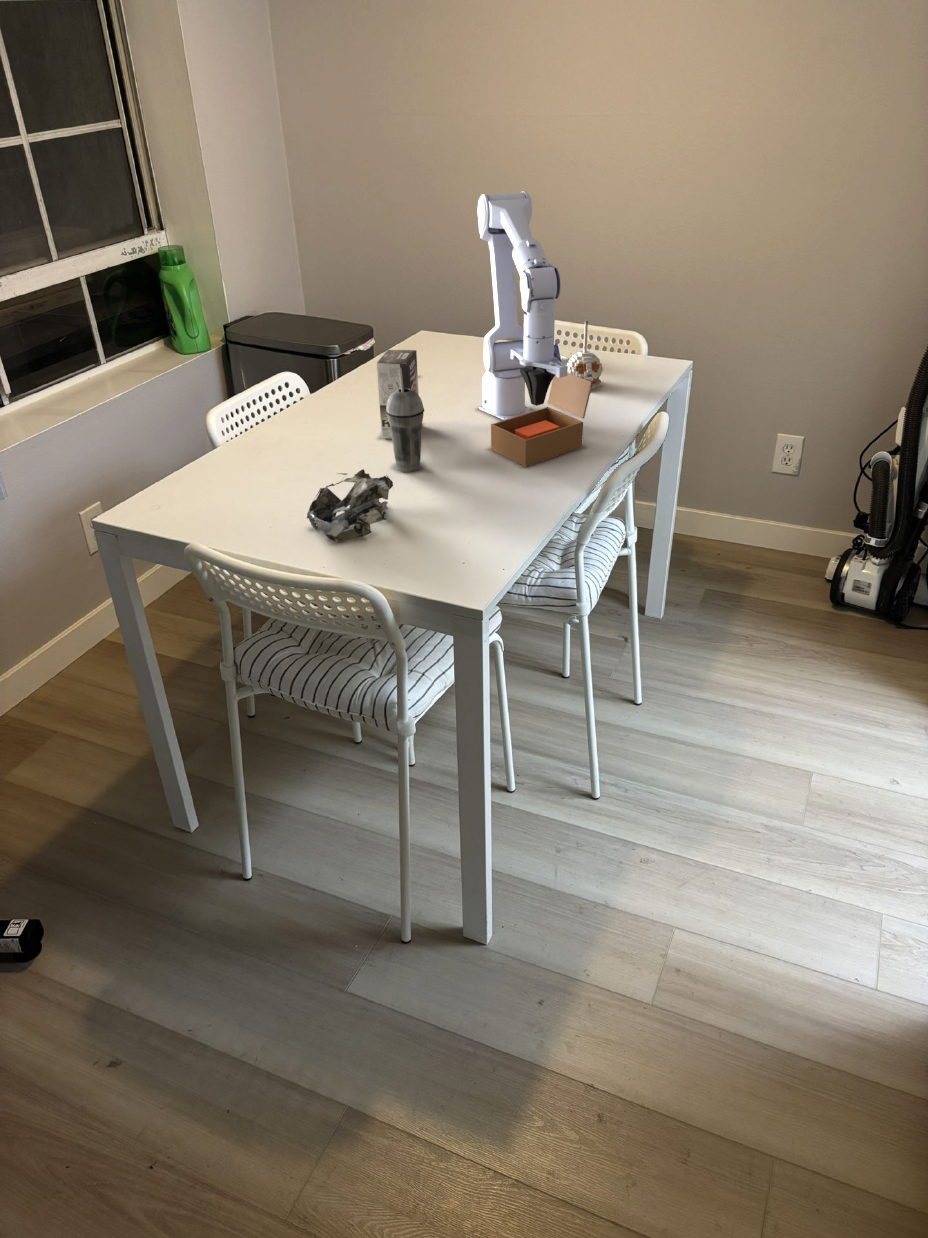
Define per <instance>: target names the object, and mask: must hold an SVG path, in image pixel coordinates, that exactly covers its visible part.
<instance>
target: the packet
mask: <svg viewBox="0 0 928 1238" xmlns="http://www.w3.org/2000/svg"><path fill="white" fill-rule="evenodd" d="M558 429H559V426H557V425H555V424H553V423H551V422H548V421H546V420H544V421H541V422H538V423H535V424H531V425H528V426H525V427H522V428H519V429H516V430H515V435H517V436H519V437H521V438H523V439H526V440H527V439H530V438H533V437H536V436H539V435H542V434H545V433H548V432H551V431H554V430H558Z"/></svg>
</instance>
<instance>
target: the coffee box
mask: <svg viewBox="0 0 928 1238" xmlns="http://www.w3.org/2000/svg"><path fill="white" fill-rule="evenodd" d="M417 351H418V350H417V349H416V350H415V349H387V350H386V351H385V352H384V353H383V355H382V356H381V357H380V358H379V359H378V360H377V361H376V373H377V390H378V403H379V417H380V430H381V432H380V433H381V438H382V439H390V440H392V436H391V429H390V423H389V421H388V417H387V414H386V409H387V402H388V399H389V397H390V396H391V395H392V393H393V392H395V391H397V390H399V389H401V385H400V376H399V368H401V370H402V379H403V388H407V389H411V390H413V391H414V392H416V393H417V394H418V395H419V393H420V392H419V376H418V375H419V373H418V356H417ZM419 396H420V395H419Z"/></svg>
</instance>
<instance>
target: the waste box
mask: <svg viewBox="0 0 928 1238" xmlns="http://www.w3.org/2000/svg"><path fill="white" fill-rule="evenodd" d="M544 420H546V421H548V422H551V423H553V424H555V425H557V426H559V429H558V430H554V431H551V432H548V433H545V434H542V435H539V436H536V437H533V438H530V439H527V440H526V439H523V438H521V437H519V436H517V435H515V430H516V429H519V428H522V427H525V426H528V425H531V424H535V423H538V422H541V421H544ZM583 436H584V421H582V420H579V419H577V418H575V417H573V416H570V415H568V414H566V413H564V412H561V411H559V410H556V409H553V408H551V407H549V406H546V407H542V408H540V409H537V410H533V412H529V413H526V414H523V415H520V416H516V417H513V418H510V419H507V420H500V421H497V422H494V423H491V424H490V450H491V451H493V452H495V453H497V454H499V455H501V456H504V457H505V458H507V459H508V460H511V461H513V462H515V463H517V464H519V465H521V466H523V467H525V468H526V467H529V466H532V465H535V464H539V463H540V462H544V461H546V460H550V459H553V458H555V457H558V456H562V455H565V454H567V453H570V452H573V451H576V450H578V449H582V448H583Z"/></svg>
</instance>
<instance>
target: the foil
mask: <svg viewBox="0 0 928 1238" xmlns="http://www.w3.org/2000/svg"><path fill="white" fill-rule="evenodd" d="M335 474H336V475H342V476H343V475H344V476H347V475H348V473H343V472H341V473H339V472H337V473H335ZM343 482H344V483H354V484H353V486H352V487H351V489H350V490H349V492H347V494H346V495H345V497H343V499H341V498H339V497H338V496H337V495H336V494H335V493H334V492H333V491H331V489H329V488H330V487H335V486H336V485H339V484H341V483H343ZM392 488H393V490H394V482H393V481H392V480H391V478H390V477H389V476H388V475H387V474H386V475H384V476H380V477H371V476H370V473H367V472H366V471H365V469H364V468H362V469H361V470H359V471H358V472H356V473H355V474H354V475H353V477H346V478H345V479H344V478H342V479H341V480H340V481H338V482H336V483H330V484H329V485H326V486H325V487H320V488H319V490H318V492H317V494H316V495H315V496H314V498H313V501H312V502H311V504H310V505H309V508H308V510H307V512H306V519H308V521H309V522H310V525H311V527H312V528H313V529H314V530H317V529H320V530H321V531H322V532H323V534H324V535H325V536H326V538H327V539H329V540H331V541H333V542H334V543H337V544H339V543H343V542H346V541H350V540H354V539H358V538H363V537H365V536H368V535H369V534H372V530H371V525H373V524H375V523H379V522H382V521H385V520H387V518H386V515H387V510H388V509H389V507H388V502H389V501H388V500H389V494H390V493H389V491H390V490H391V489H392ZM380 499H383V500H385V501H382V502H381V501H380ZM386 500H387V501H386ZM340 512H341V513H340ZM337 513H340V514H338V515H337Z"/></svg>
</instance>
